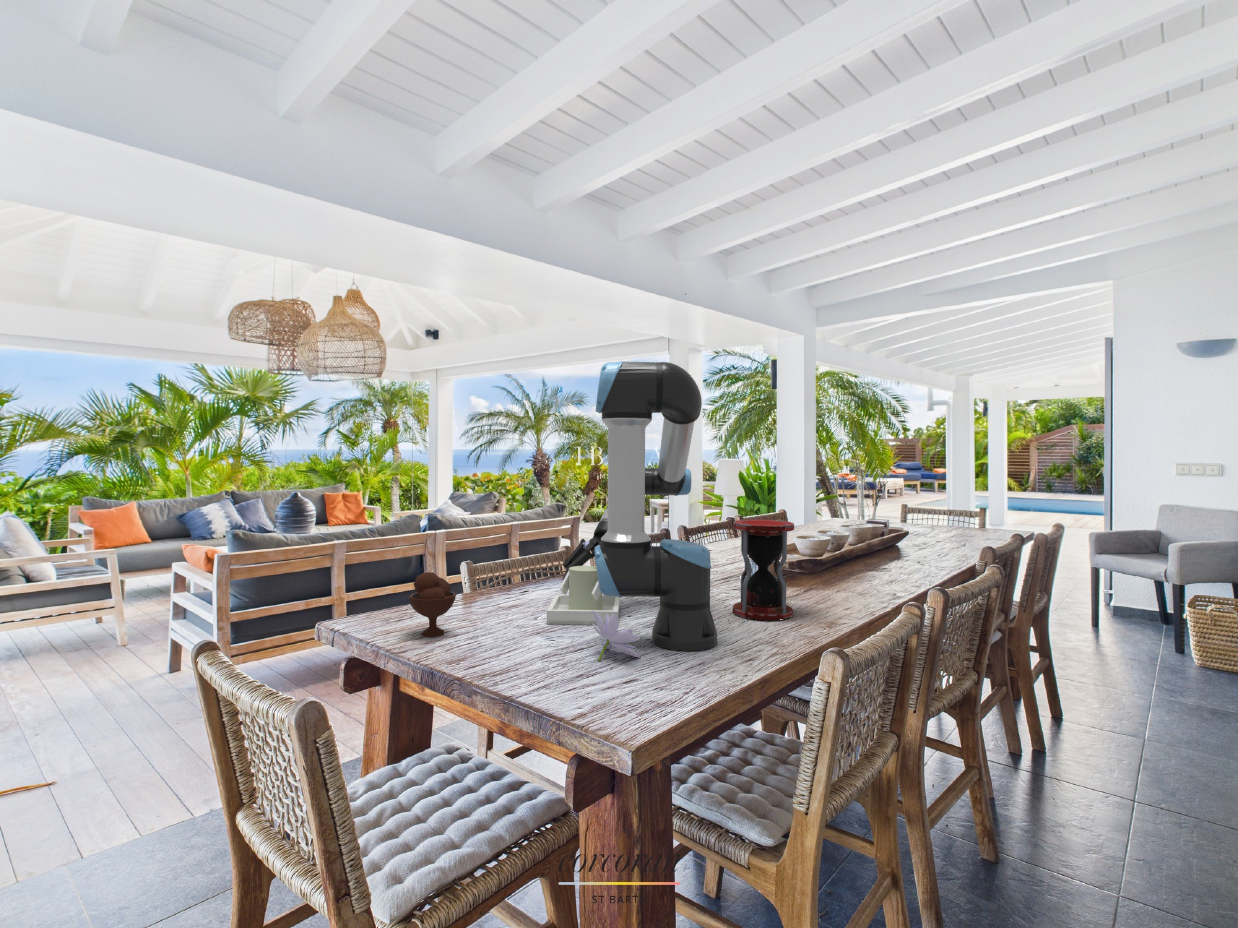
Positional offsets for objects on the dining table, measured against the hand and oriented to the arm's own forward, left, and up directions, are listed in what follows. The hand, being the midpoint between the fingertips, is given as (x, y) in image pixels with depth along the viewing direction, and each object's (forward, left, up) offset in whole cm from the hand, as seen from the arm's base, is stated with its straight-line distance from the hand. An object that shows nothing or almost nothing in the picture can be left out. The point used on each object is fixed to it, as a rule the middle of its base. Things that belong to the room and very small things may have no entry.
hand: (578, 594), depth 175 cm
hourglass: (+8, -50, -7) cm, 51 cm away
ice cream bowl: (-16, +33, -7) cm, 38 cm away
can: (+3, -2, -5) cm, 6 cm away
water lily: (-31, -11, -7) cm, 34 cm away
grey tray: (+3, -2, -6) cm, 7 cm away
